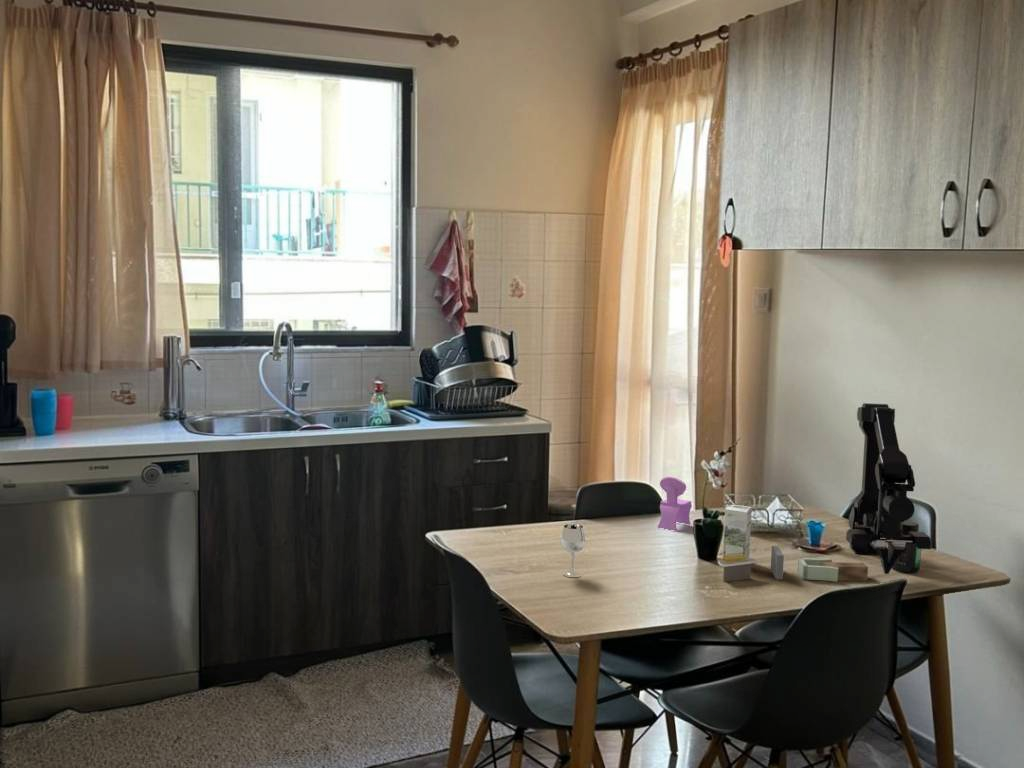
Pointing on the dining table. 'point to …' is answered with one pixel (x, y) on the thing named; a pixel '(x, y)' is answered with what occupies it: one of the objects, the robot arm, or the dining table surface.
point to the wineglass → (572, 541)
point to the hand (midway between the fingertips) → (886, 573)
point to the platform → (736, 566)
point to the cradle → (817, 569)
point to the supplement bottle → (909, 552)
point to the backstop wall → (777, 562)
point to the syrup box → (737, 530)
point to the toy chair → (673, 504)
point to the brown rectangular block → (849, 570)
